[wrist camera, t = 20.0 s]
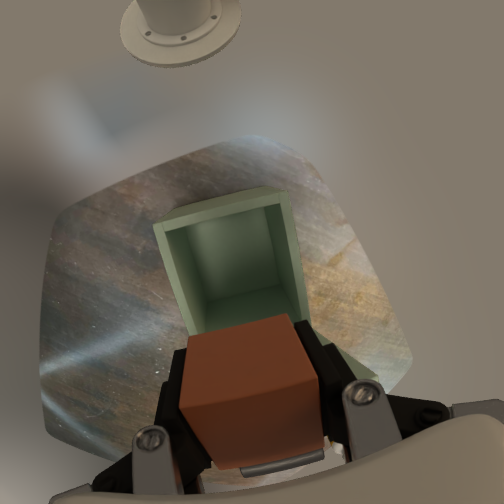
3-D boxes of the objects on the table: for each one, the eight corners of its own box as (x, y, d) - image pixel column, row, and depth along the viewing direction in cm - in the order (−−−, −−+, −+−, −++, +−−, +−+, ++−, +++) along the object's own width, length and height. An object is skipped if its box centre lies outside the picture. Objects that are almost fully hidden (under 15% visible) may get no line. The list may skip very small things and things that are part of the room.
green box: (173, 208, 34) (151, 224, 23) (265, 185, 35) (287, 190, 23) (202, 306, 38) (198, 357, 27) (286, 285, 39) (312, 329, 27)
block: (188, 335, 11) (177, 407, 7) (286, 311, 11) (318, 376, 7) (216, 402, 12) (219, 471, 8) (299, 383, 12) (325, 447, 8)
